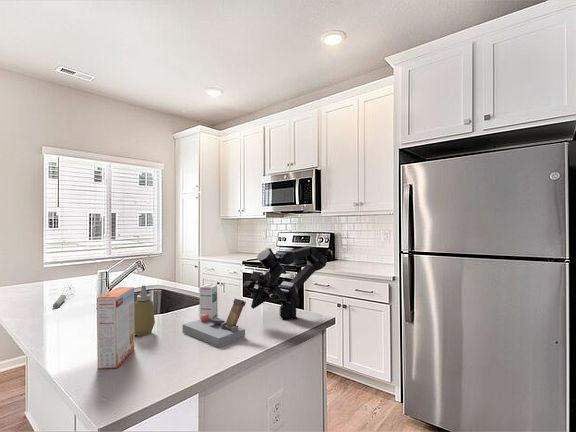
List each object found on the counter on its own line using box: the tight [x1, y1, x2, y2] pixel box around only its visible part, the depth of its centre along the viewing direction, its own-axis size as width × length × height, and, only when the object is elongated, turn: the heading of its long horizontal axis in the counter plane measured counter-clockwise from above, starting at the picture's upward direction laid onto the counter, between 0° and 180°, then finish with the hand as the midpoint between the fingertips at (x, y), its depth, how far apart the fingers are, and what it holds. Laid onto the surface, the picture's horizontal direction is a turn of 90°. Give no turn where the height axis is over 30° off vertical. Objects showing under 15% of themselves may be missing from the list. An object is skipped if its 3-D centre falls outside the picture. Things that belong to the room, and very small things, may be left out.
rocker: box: [208, 318, 226, 324], centre depth 127 cm, size 5×4×1 cm
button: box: [201, 314, 209, 322], centre depth 131 cm, size 3×3×2 cm
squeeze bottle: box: [134, 284, 156, 337], centre depth 125 cm, size 8×8×18 cm
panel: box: [182, 317, 246, 348], centre depth 124 cm, size 12×22×5 cm, turn 49°
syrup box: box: [199, 283, 219, 320], centre depth 144 cm, size 6×6×14 cm
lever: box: [224, 298, 247, 330], centre depth 123 cm, size 2×4×11 cm, turn 49°
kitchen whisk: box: [52, 284, 76, 310], centre depth 172 cm, size 6×34×6 cm, turn 23°
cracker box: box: [96, 286, 135, 370], centre depth 103 cm, size 14×6×21 cm, turn 5°
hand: (252, 307), depth 130 cm, fingers closed
